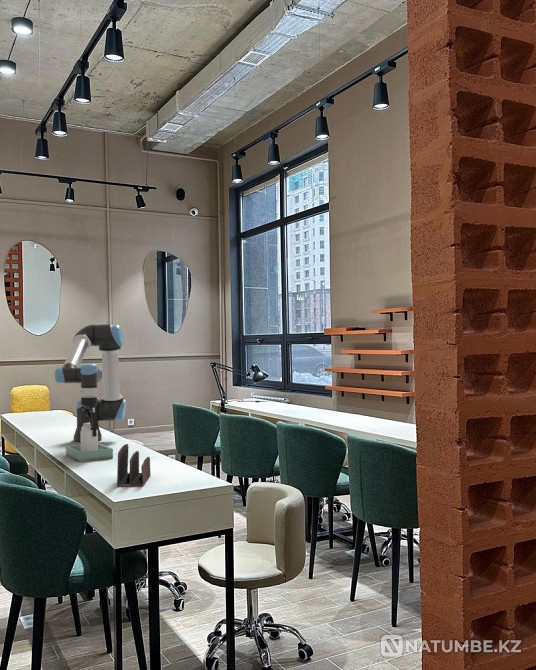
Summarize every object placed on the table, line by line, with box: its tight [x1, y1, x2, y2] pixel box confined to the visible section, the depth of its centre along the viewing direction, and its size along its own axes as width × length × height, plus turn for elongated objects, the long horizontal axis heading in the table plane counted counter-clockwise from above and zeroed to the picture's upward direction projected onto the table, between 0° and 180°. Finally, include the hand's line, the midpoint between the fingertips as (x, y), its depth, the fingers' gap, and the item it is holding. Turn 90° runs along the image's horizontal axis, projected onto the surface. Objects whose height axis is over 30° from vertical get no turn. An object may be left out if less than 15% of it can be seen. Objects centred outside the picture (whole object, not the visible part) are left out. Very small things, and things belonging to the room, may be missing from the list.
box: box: [65, 442, 114, 463], centre depth 307 cm, size 20×16×4 cm
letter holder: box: [116, 443, 151, 488], centre depth 254 cm, size 10×20×14 cm, turn 3°
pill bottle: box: [80, 423, 99, 451], centre depth 307 cm, size 8×8×15 cm
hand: (89, 441), depth 307 cm, fingers open, 13 cm apart
